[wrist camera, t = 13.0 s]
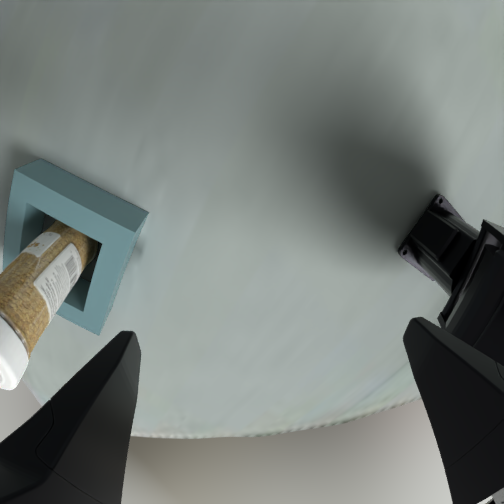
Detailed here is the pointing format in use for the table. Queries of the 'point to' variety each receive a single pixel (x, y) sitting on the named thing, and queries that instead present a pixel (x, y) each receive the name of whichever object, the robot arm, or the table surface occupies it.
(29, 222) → the holder
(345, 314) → the table surface
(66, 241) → the sprinkles bottle
